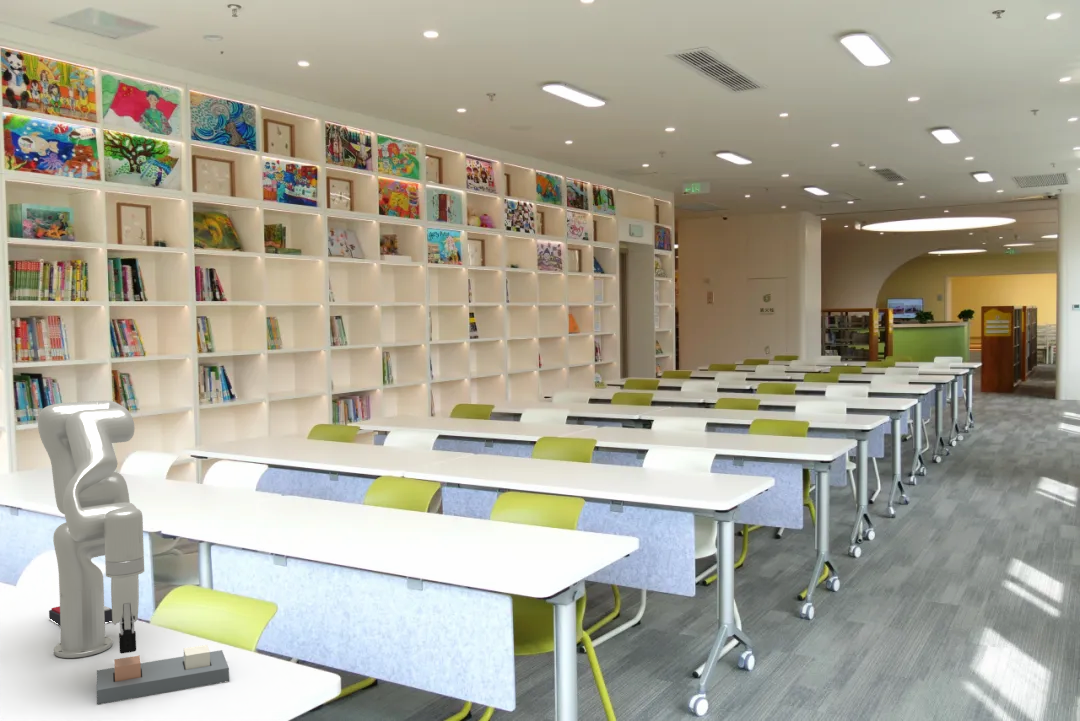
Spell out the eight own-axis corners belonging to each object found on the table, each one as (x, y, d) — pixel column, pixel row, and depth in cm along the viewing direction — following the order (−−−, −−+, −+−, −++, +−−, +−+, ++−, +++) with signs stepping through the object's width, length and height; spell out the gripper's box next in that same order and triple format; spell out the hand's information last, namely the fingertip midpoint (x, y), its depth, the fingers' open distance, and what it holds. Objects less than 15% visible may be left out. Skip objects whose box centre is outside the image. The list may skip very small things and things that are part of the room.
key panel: (97, 683, 194) (96, 670, 194) (222, 662, 205) (222, 650, 205) (96, 704, 183) (96, 690, 183) (229, 681, 195) (228, 667, 194)
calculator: (91, 597, 245) (113, 606, 235) (92, 613, 245) (114, 622, 235) (48, 607, 237) (69, 616, 227) (49, 623, 237) (69, 633, 227)
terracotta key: (114, 677, 192) (114, 659, 192) (140, 673, 194) (139, 655, 194) (115, 685, 188) (114, 667, 187) (141, 681, 190) (140, 663, 190)
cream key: (184, 666, 198) (183, 648, 198) (207, 662, 201) (207, 644, 200) (186, 673, 194) (185, 655, 194) (210, 669, 196) (209, 651, 196)
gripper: (105, 561, 195) (108, 644, 195) (105, 577, 181) (108, 665, 182) (142, 557, 198) (145, 638, 199) (145, 572, 185) (148, 659, 185)
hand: (127, 651), depth 190 cm, fingers closed
